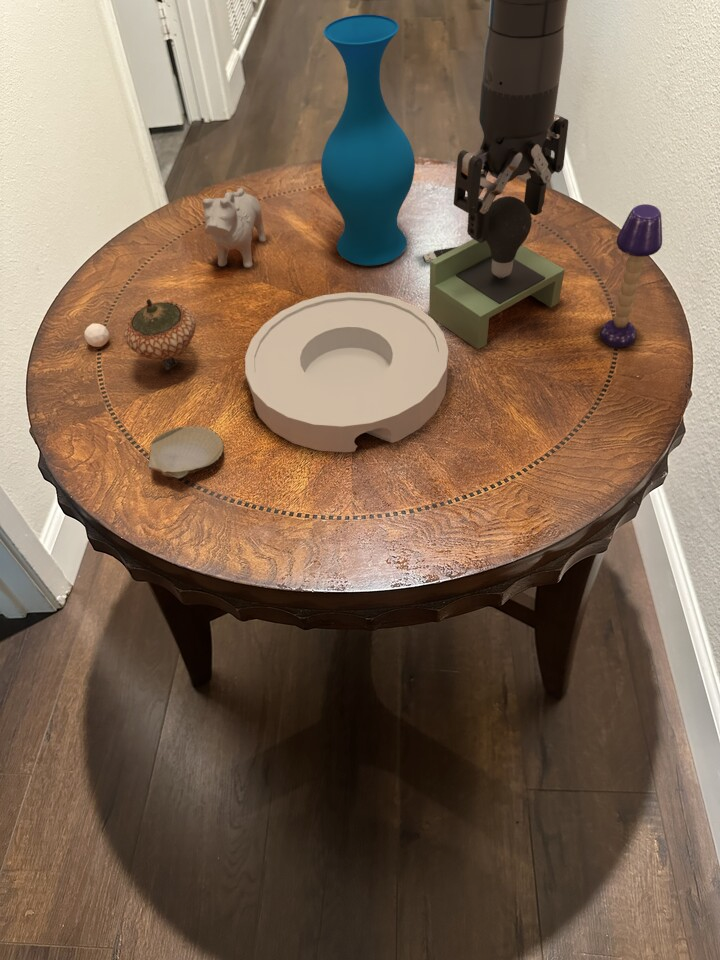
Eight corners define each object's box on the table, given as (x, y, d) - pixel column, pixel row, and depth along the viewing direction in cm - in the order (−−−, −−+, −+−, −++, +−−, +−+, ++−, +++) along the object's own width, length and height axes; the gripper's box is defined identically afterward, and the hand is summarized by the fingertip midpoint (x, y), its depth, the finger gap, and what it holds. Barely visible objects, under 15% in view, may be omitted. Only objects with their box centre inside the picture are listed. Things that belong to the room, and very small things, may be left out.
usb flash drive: (426, 265, 102) (426, 259, 101) (422, 258, 103) (422, 251, 102) (481, 256, 103) (481, 250, 102) (476, 248, 104) (477, 242, 103)
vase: (418, 224, 108) (419, 7, 87) (410, 275, 100) (409, 50, 79) (337, 222, 110) (318, 9, 89) (322, 272, 102) (298, 50, 81)
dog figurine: (207, 282, 102) (189, 210, 94) (235, 230, 110) (220, 160, 102) (244, 284, 101) (229, 212, 93) (269, 232, 109) (257, 162, 101)
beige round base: (384, 481, 77) (382, 455, 74) (210, 408, 86) (202, 382, 83) (480, 352, 89) (483, 325, 86) (320, 299, 98) (317, 273, 95)
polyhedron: (113, 336, 95) (106, 317, 93) (110, 351, 94) (102, 332, 91) (91, 338, 95) (83, 319, 93) (87, 353, 94) (79, 334, 91)
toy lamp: (627, 354, 88) (663, 226, 75) (589, 342, 89) (617, 215, 77) (640, 331, 90) (677, 203, 77) (603, 320, 92) (633, 193, 79)
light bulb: (471, 285, 89) (476, 208, 82) (485, 259, 93) (491, 183, 85) (517, 294, 88) (526, 216, 80) (529, 267, 91) (540, 190, 83)
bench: (508, 272, 99) (514, 217, 93) (559, 303, 95) (569, 247, 89) (428, 315, 95) (429, 260, 88) (477, 350, 90) (482, 294, 84)
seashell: (235, 459, 83) (178, 424, 84) (238, 440, 81) (179, 404, 82) (188, 502, 77) (127, 464, 79) (190, 483, 75) (128, 444, 76)
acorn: (194, 337, 94) (175, 269, 87) (214, 375, 89) (196, 307, 82) (131, 358, 92) (105, 290, 85) (147, 398, 87) (122, 330, 80)
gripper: (494, 110, 68) (482, 263, 81) (600, 64, 73) (573, 215, 86) (440, 85, 72) (436, 235, 85) (543, 44, 77) (526, 191, 90)
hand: (505, 225), depth 85 cm, fingers open, 8 cm apart
